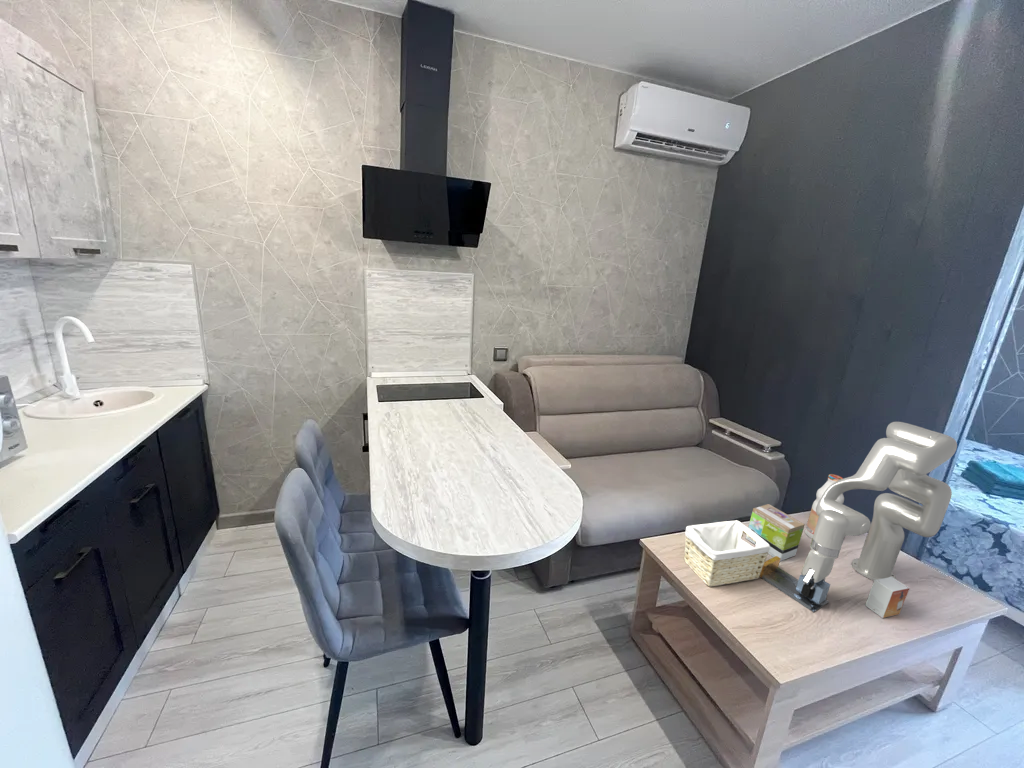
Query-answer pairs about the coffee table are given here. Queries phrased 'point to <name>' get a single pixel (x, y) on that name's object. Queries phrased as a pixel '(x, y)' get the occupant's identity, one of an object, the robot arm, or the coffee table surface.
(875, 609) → the small box
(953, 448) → the robot arm
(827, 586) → the block
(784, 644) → the coffee table surface
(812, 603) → the dock
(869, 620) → the coffee table surface
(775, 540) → the tea box
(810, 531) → the fruit juice
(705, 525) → the storage basket
